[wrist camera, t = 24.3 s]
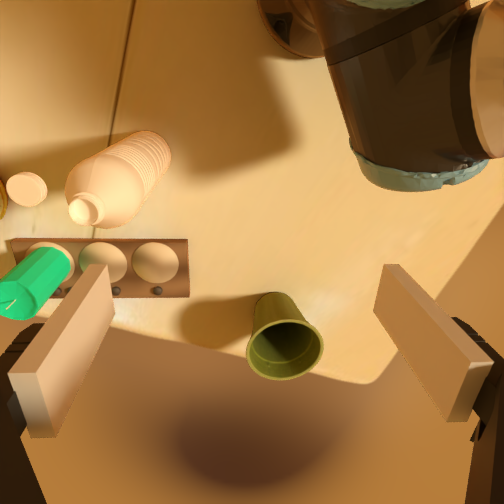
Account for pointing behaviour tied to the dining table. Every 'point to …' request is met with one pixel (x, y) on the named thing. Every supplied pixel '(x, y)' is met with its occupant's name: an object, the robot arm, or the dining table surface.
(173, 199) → the dining table surface
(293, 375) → the plant pot
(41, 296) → the candle
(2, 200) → the decorated donut
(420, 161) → the robot arm
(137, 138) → the water bottle
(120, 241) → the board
